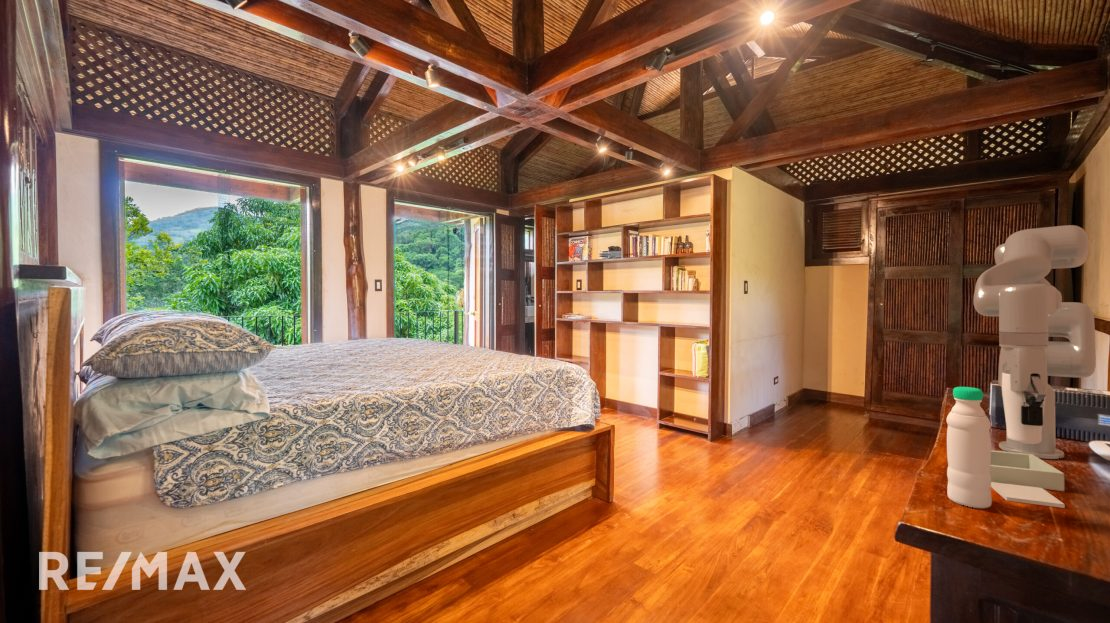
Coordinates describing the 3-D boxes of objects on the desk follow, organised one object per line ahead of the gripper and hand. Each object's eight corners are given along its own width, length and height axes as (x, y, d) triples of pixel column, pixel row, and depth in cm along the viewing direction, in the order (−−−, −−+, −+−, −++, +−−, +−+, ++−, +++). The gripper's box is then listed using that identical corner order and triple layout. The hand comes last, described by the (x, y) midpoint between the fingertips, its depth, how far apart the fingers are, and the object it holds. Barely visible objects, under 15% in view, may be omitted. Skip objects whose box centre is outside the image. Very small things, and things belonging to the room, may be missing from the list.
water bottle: (980, 512, 92) (979, 392, 92) (940, 499, 98) (938, 387, 98) (998, 505, 95) (997, 389, 94) (957, 492, 101) (956, 383, 101)
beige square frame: (960, 462, 119) (960, 447, 119) (1032, 469, 113) (1032, 454, 113) (982, 481, 107) (982, 465, 107) (1064, 491, 101) (1064, 473, 101)
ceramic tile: (988, 485, 105) (988, 481, 105) (1041, 491, 101) (1041, 487, 101) (1006, 500, 97) (1006, 497, 97) (1064, 508, 93) (1064, 504, 93)
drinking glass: (1056, 446, 95) (1055, 376, 94) (1018, 445, 96) (1017, 376, 96) (1029, 437, 101) (1028, 371, 101) (994, 436, 103) (993, 371, 102)
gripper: (984, 337, 108) (985, 411, 108) (1019, 343, 92) (1020, 429, 92) (1026, 337, 104) (1027, 413, 105) (1070, 344, 89) (1070, 433, 89)
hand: (1023, 420), depth 99 cm, fingers closed on drinking glass, 6 cm apart
